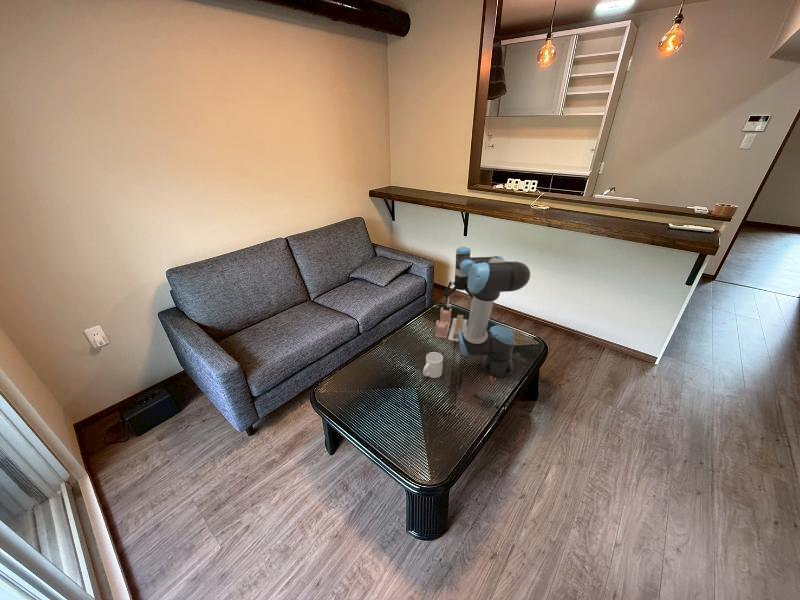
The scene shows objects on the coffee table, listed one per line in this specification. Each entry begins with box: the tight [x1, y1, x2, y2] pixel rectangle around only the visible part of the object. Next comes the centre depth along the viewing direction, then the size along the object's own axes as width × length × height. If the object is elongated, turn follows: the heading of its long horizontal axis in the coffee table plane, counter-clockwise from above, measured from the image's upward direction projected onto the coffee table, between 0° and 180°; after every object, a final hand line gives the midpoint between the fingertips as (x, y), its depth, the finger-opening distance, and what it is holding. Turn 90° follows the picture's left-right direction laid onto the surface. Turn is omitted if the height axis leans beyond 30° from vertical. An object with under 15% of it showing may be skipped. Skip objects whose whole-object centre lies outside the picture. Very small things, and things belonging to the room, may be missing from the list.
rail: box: [453, 314, 464, 339], centre depth 186 cm, size 4×22×4 cm, turn 164°
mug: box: [422, 351, 444, 379], centre depth 151 cm, size 12×8×10 cm
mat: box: [447, 317, 468, 342], centre depth 187 cm, size 9×24×1 cm, turn 164°
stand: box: [434, 306, 453, 339], centre depth 188 cm, size 7×21×9 cm, turn 164°
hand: (459, 307), depth 180 cm, fingers open, 13 cm apart
